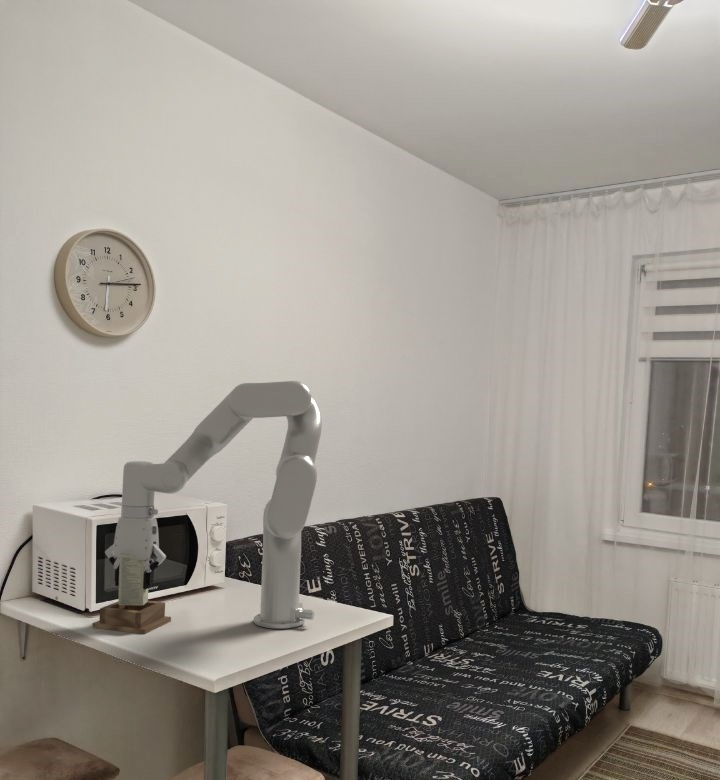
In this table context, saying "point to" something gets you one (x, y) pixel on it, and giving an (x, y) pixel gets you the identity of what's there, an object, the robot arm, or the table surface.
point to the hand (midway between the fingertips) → (133, 585)
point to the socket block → (132, 617)
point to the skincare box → (131, 581)
